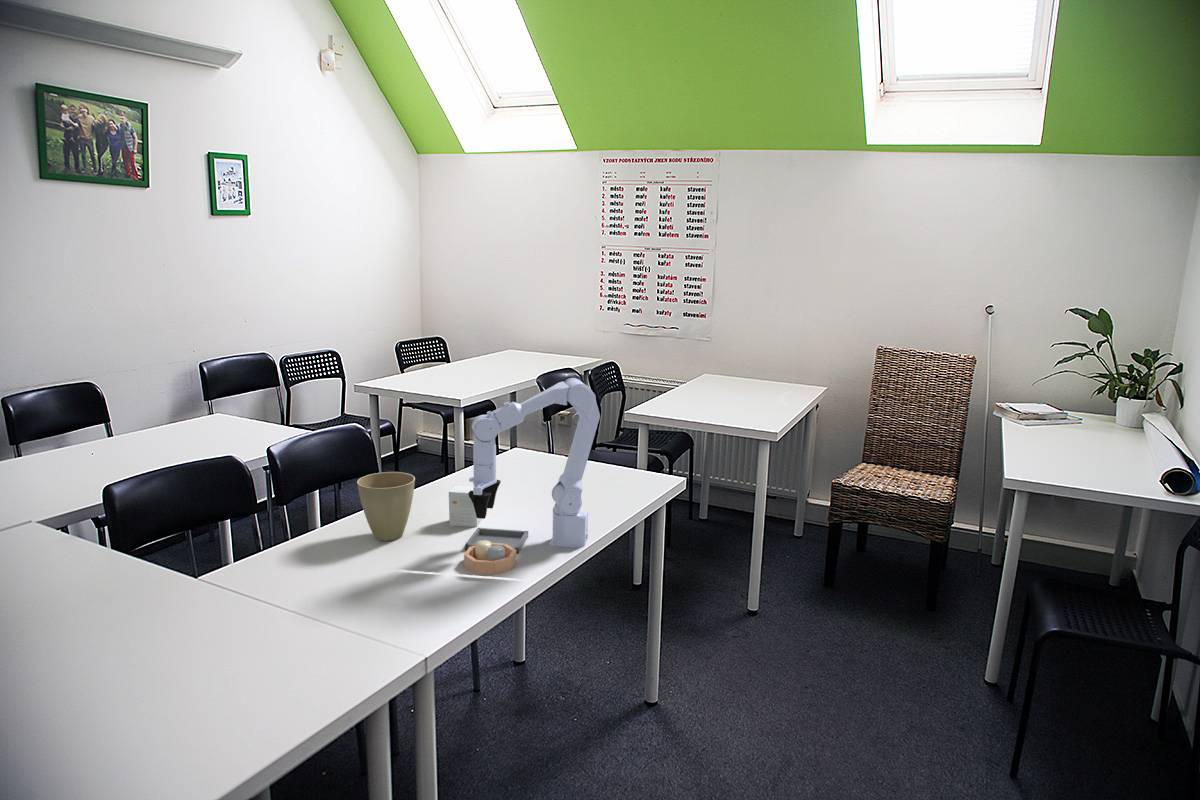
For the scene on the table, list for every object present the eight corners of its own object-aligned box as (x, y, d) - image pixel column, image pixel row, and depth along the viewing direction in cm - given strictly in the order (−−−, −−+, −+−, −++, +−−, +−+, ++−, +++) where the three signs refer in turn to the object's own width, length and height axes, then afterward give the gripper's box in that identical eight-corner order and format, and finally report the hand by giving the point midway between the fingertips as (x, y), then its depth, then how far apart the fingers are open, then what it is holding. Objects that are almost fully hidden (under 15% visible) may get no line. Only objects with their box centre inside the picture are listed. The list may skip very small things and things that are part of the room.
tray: (528, 538, 211) (528, 531, 211) (518, 555, 200) (518, 548, 199) (477, 534, 213) (477, 527, 212) (465, 552, 201) (465, 544, 201)
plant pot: (423, 527, 217) (422, 472, 214) (405, 548, 203) (403, 489, 199) (372, 524, 219) (369, 470, 215) (350, 544, 204) (347, 486, 201)
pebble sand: (493, 557, 196) (493, 541, 195) (488, 564, 193) (488, 547, 192) (478, 556, 197) (478, 539, 196) (473, 562, 193) (472, 545, 192)
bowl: (519, 557, 199) (519, 544, 198) (508, 577, 187) (508, 563, 186) (473, 554, 200) (473, 541, 199) (459, 573, 188) (459, 560, 188)
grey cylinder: (506, 563, 194) (506, 546, 193) (502, 569, 190) (502, 552, 189) (490, 561, 194) (490, 544, 193) (486, 568, 190) (486, 551, 189)
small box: (482, 522, 223) (481, 486, 220) (477, 529, 217) (476, 493, 215) (454, 520, 223) (454, 485, 221) (448, 527, 218) (448, 491, 216)
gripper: (477, 453, 206) (477, 502, 209) (461, 469, 192) (461, 521, 195) (503, 455, 205) (503, 504, 208) (489, 471, 191) (489, 523, 194)
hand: (485, 512), depth 202 cm, fingers open, 7 cm apart
